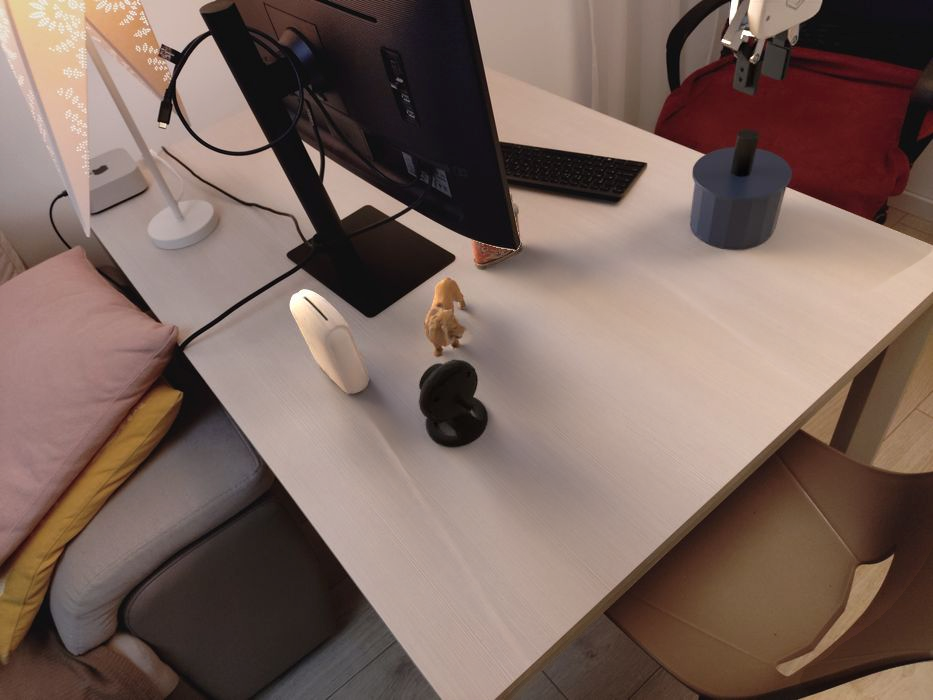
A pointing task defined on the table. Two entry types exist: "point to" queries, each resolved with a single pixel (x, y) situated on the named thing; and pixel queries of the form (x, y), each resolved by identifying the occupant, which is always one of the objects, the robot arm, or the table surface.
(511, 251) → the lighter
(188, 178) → the table surface
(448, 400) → the webcam
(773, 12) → the robot arm
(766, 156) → the lid
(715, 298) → the table surface
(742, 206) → the tin
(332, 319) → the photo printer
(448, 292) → the lion figurine
